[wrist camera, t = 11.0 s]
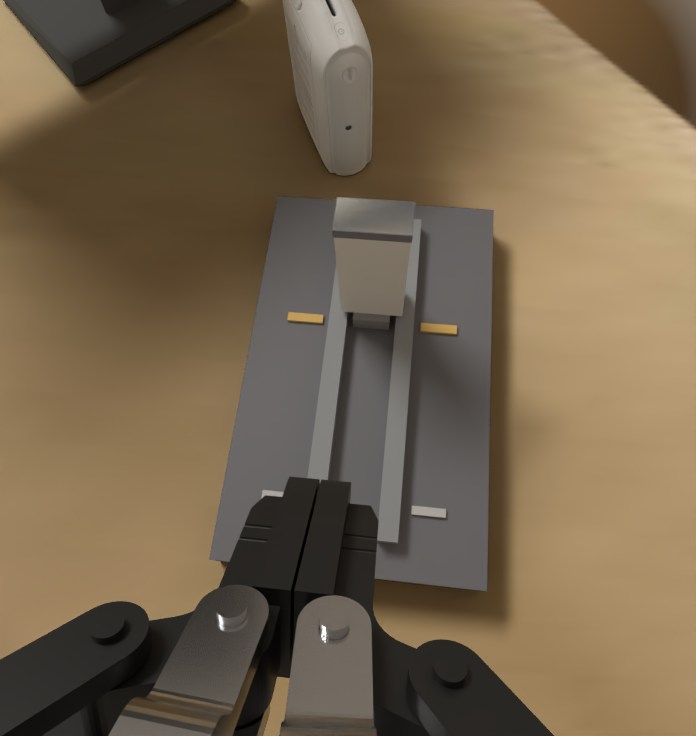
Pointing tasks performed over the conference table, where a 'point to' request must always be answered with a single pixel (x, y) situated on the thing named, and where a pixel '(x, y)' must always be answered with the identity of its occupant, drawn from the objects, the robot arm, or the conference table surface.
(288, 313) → the grey slider track board
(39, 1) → the computer monitor
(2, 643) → the conference table surface
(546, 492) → the conference table surface
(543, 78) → the conference table surface
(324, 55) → the photo printer
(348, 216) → the fader
